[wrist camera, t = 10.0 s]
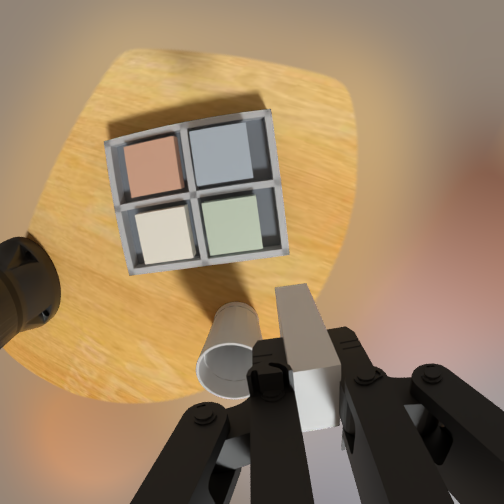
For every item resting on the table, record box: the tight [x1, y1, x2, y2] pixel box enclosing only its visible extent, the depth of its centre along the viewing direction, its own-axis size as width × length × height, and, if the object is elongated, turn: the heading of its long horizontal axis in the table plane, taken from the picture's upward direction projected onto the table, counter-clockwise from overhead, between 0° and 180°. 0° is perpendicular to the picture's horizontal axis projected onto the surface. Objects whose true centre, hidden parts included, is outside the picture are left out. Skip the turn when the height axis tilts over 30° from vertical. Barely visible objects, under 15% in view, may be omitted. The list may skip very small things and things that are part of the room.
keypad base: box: [104, 109, 290, 276], centre depth 38 cm, size 20×17×4 cm
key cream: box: [135, 204, 196, 264], centre depth 37 cm, size 6×6×2 cm
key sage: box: [202, 194, 263, 256], centre depth 36 cm, size 6×6×2 cm
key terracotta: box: [124, 136, 185, 198], centre depth 35 cm, size 6×6×2 cm
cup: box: [196, 302, 262, 399], centre depth 39 cm, size 8×8×12 cm
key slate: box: [189, 122, 253, 186], centre depth 33 cm, size 6×6×2 cm
